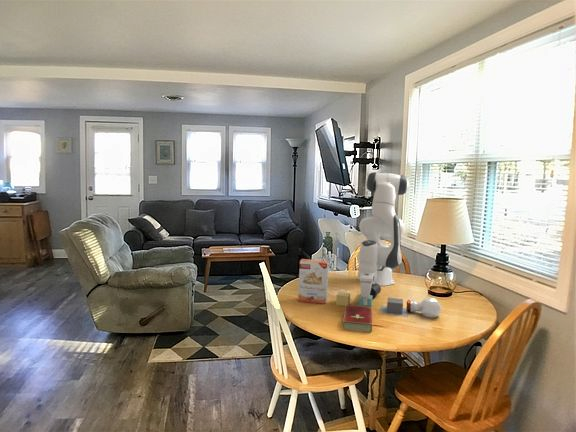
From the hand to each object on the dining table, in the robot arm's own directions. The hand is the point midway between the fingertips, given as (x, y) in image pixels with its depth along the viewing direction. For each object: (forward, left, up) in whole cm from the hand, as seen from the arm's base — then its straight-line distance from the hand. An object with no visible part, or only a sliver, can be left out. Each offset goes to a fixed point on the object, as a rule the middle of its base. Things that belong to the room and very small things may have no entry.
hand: (366, 301), depth 201 cm
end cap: (-15, +2, -3) cm, 16 cm away
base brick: (+5, +14, -1) cm, 15 cm away
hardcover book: (+22, -2, -3) cm, 22 cm away
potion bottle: (+5, +27, -3) cm, 27 cm away
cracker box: (+2, -26, -3) cm, 26 cm away
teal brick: (0, 0, -3) cm, 3 cm away
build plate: (+5, +14, -2) cm, 15 cm away
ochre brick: (0, -11, -3) cm, 12 cm away
